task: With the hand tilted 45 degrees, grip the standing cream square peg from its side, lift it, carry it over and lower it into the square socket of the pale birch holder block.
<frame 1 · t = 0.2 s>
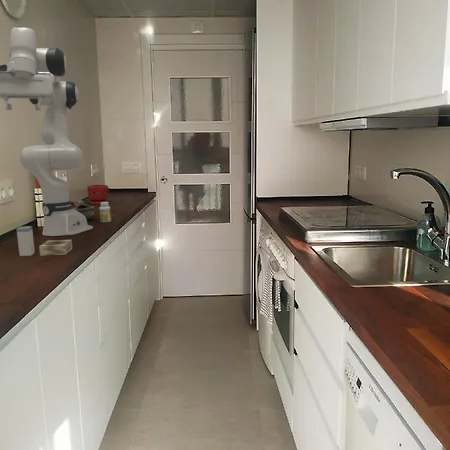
hand: (23, 109, 156), 51 cm above the worktop, tool tilted 20°, fingers open, 8 cm apart
plant pot: (99, 203, 294), on the worktop
holder: (56, 252, 167), on the worktop
mug: (83, 220, 234), on the worktop
supplement bottle: (106, 221, 228), on the worktop
peg: (27, 254, 165), on the worktop
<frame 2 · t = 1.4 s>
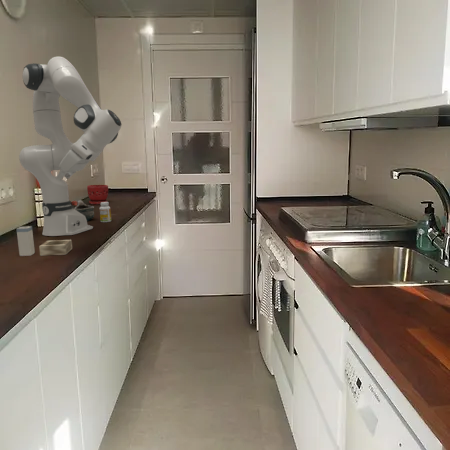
hand: (62, 178, 163), 27 cm above the worktop, tool tilted 45°, fingers open, 8 cm apart
nothing on the worktop moved.
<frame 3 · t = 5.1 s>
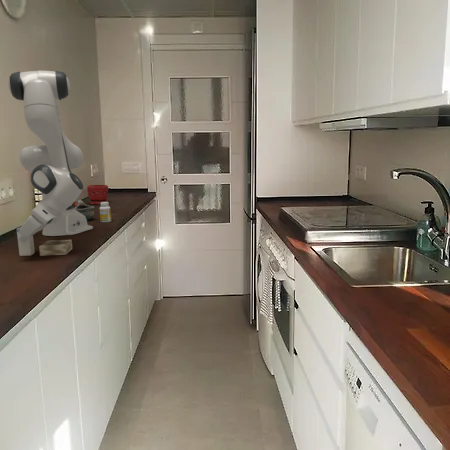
hand: (23, 239, 164), 6 cm above the worktop, tool tilted 45°, fingers closed on peg, 4 cm apart
peg: (27, 254, 165), on the worktop, touching gripper
everything else where it was.
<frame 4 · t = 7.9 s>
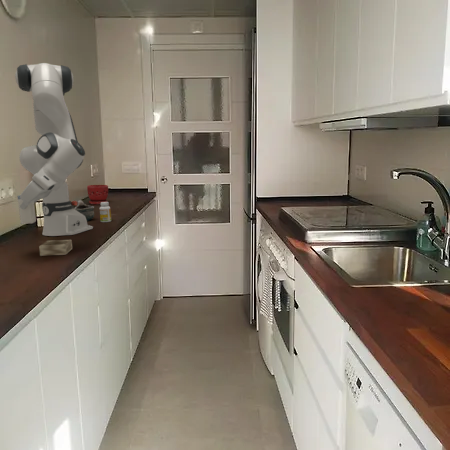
hand: (24, 206, 162), 17 cm above the worktop, tool tilted 45°, fingers closed on peg, 4 cm apart
peg: (28, 222, 163), point 12 cm above the worktop, touching gripper
everything else where it was.
when the fingers open (9 cm above the worktop, at t = 10.8 s): peg drops 2 cm, resting on holder.
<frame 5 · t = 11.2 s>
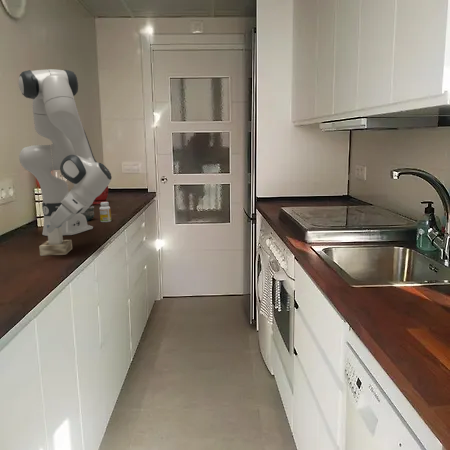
hand: (52, 228, 166), 9 cm above the worktop, tool tilted 45°, fingers open, 8 cm apart
peg: (56, 250, 167), point 1 cm above the worktop, touching holder
everything else where it was.
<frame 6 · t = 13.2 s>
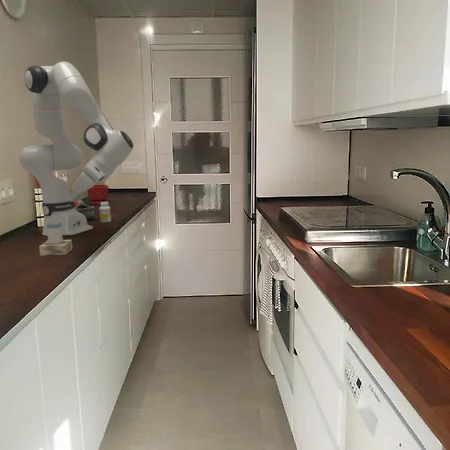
hand: (73, 197, 165), 20 cm above the worktop, tool tilted 45°, fingers open, 8 cm apart
nothing on the worktop moved.
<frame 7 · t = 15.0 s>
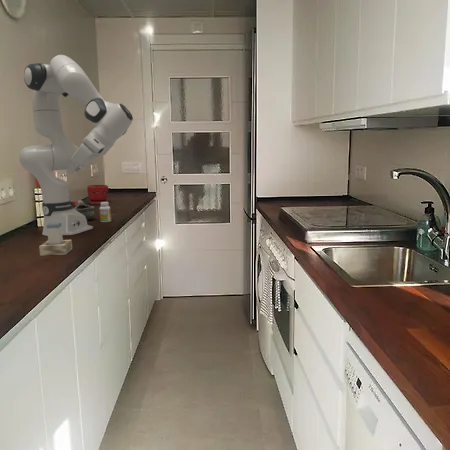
hand: (72, 171, 163), 29 cm above the worktop, tool tilted 45°, fingers open, 8 cm apart
nothing on the worktop moved.
at the end: peg 0.1 cm off-centre on the holder, point 0.6 cm above the holder's base; peg tilted 0°; the gripper is holding nothing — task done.
